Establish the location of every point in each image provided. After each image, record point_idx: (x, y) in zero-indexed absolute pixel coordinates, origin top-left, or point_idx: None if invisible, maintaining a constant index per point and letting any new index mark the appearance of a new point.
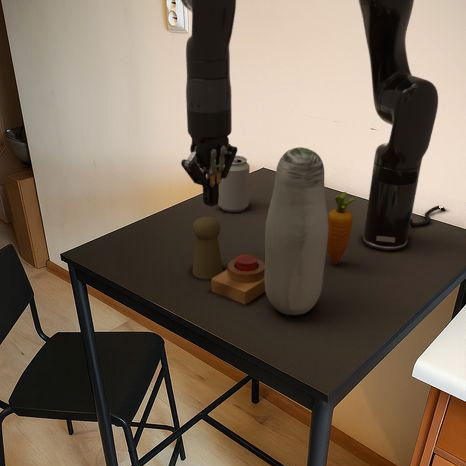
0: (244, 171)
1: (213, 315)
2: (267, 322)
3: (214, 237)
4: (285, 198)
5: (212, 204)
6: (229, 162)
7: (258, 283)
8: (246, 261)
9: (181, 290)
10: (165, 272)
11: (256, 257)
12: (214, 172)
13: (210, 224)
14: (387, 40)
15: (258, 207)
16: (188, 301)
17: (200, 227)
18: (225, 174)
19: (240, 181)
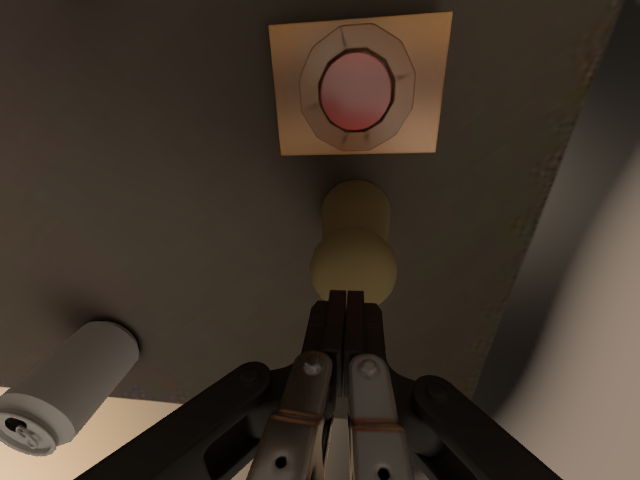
0: (28, 389)
1: (536, 53)
2: None
3: (361, 227)
4: None
5: (363, 296)
6: (173, 444)
7: (382, 17)
8: (371, 79)
9: (461, 203)
10: (411, 277)
11: (326, 73)
12: (373, 431)
13: (368, 257)
14: None
15: (71, 308)
16: (500, 156)
17: (393, 273)
18: (250, 380)
19: (61, 373)
